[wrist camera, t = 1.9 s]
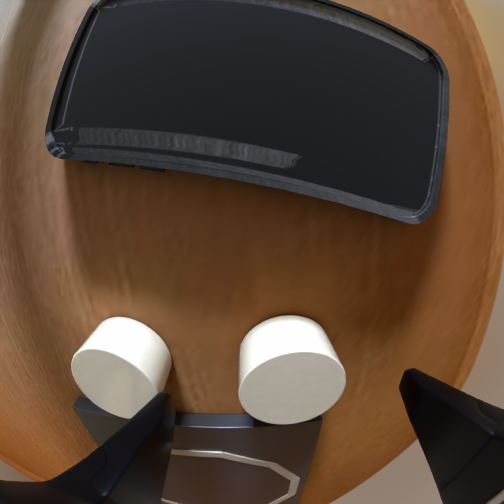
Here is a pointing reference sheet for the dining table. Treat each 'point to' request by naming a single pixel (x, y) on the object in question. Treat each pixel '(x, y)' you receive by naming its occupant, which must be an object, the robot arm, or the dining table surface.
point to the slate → (225, 456)
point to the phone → (259, 99)
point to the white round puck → (288, 371)
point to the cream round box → (122, 366)
